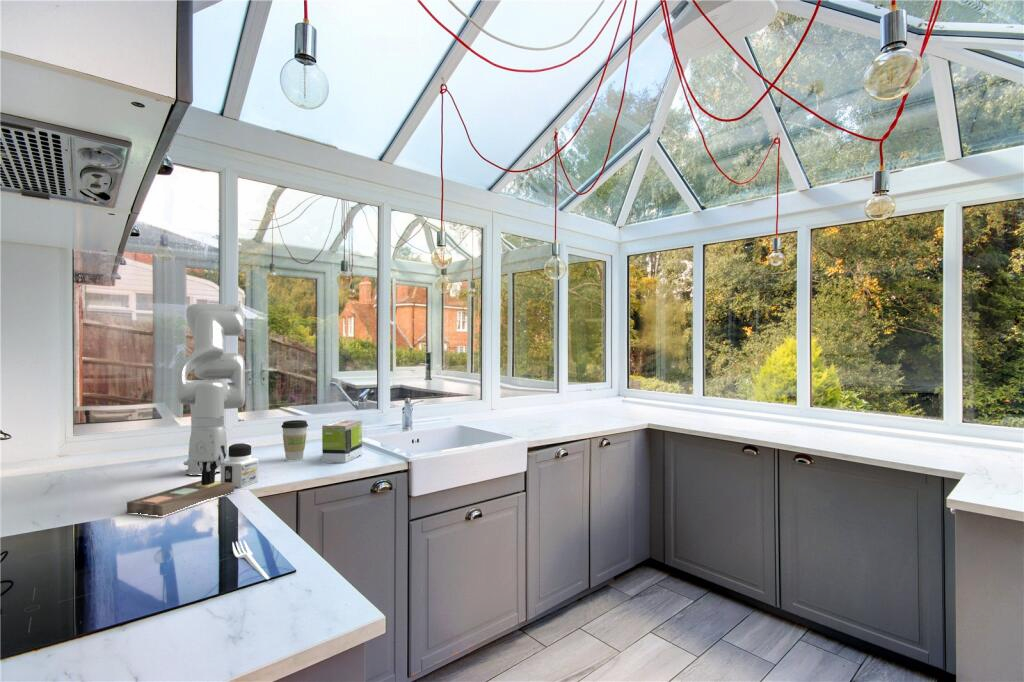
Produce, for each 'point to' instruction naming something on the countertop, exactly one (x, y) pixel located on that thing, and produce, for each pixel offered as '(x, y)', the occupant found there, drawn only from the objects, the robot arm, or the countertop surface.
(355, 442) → the tea box
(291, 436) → the coffee cup
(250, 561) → the fork
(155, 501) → the terracotta key
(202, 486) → the ochre key
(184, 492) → the sage key
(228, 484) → the key panel
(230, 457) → the container
